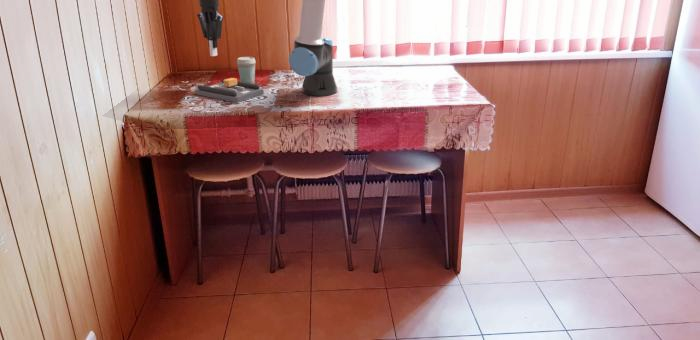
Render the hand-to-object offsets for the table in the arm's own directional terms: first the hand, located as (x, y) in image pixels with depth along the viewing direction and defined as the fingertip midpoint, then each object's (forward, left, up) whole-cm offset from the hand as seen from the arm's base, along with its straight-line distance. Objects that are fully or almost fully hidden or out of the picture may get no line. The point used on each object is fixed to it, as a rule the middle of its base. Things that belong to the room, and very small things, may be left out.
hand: (213, 55), depth 217 cm
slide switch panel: (-7, 0, -16) cm, 17 cm away
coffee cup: (-2, -17, -16) cm, 23 cm away
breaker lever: (-8, 0, -14) cm, 16 cm away
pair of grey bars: (-7, 0, -14) cm, 15 cm away
